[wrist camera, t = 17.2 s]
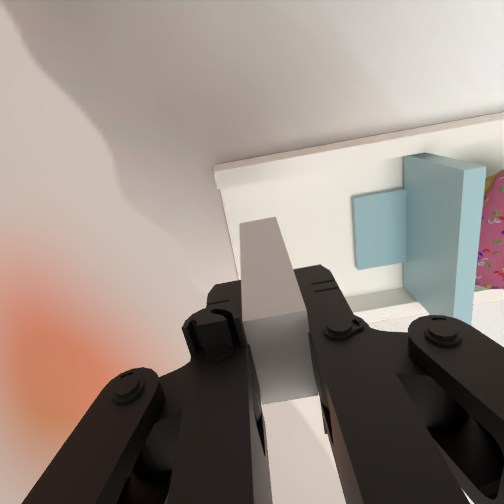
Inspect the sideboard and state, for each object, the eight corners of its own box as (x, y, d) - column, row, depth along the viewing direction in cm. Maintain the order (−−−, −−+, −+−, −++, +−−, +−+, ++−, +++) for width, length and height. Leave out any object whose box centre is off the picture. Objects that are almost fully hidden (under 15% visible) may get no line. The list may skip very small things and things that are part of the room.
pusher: (349, 163, 25) (391, 183, 18) (419, 150, 25) (486, 166, 18) (357, 293, 29) (392, 347, 23) (416, 282, 29) (469, 334, 23)
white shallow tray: (215, 164, 25) (213, 172, 22) (553, 102, 25) (596, 102, 22) (248, 320, 31) (249, 343, 28) (525, 272, 30) (557, 290, 27)
